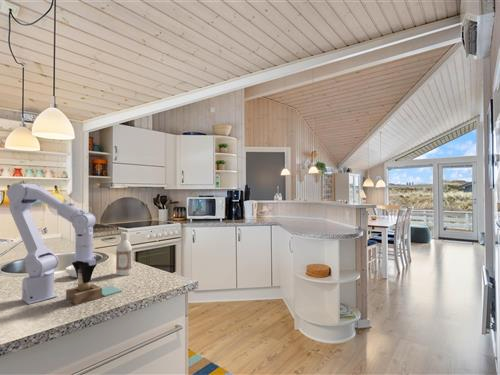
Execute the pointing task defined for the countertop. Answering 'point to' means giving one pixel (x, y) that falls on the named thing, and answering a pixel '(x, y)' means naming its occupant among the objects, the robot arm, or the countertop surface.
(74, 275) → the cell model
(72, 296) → the walnut block
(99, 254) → the countertop surface
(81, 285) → the maple plug
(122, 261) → the bath foam
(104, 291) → the teal mat
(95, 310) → the countertop surface
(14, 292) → the countertop surface
